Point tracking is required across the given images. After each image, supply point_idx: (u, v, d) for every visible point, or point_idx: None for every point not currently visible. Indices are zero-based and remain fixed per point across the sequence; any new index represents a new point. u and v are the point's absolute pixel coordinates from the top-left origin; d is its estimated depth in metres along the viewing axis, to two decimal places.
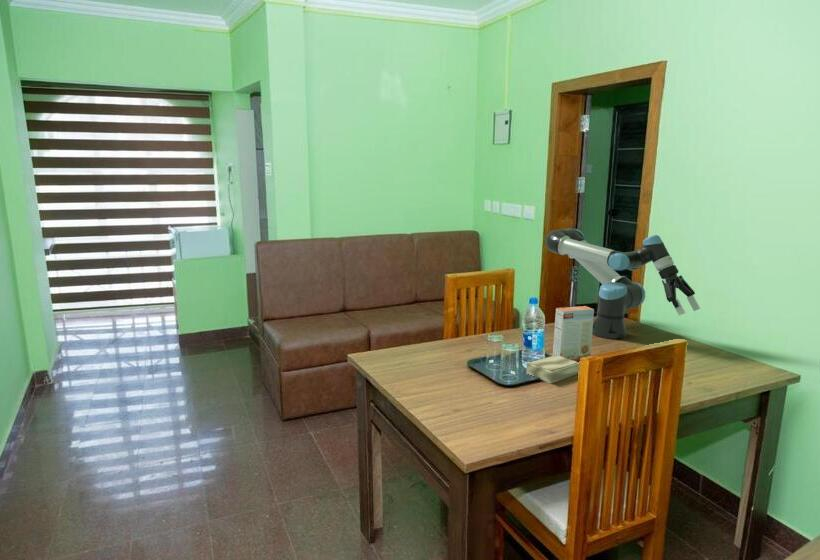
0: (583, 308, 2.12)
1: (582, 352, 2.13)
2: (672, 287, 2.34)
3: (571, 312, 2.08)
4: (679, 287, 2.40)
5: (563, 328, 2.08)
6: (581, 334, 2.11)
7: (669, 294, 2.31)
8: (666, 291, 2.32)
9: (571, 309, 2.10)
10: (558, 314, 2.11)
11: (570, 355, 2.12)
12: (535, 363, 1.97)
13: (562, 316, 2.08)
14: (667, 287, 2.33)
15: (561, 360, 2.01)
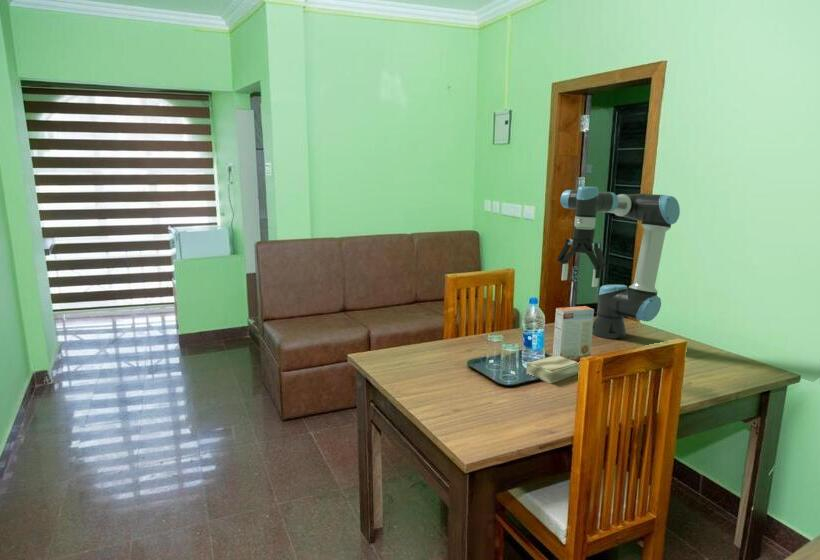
0: (583, 308, 2.12)
1: (582, 352, 2.13)
2: None
3: (571, 312, 2.08)
4: None
5: (563, 328, 2.08)
6: (581, 334, 2.11)
7: None
8: None
9: (571, 309, 2.10)
10: (558, 314, 2.11)
11: (570, 355, 2.12)
12: (535, 363, 1.97)
13: (562, 316, 2.08)
14: None
15: (561, 360, 2.01)
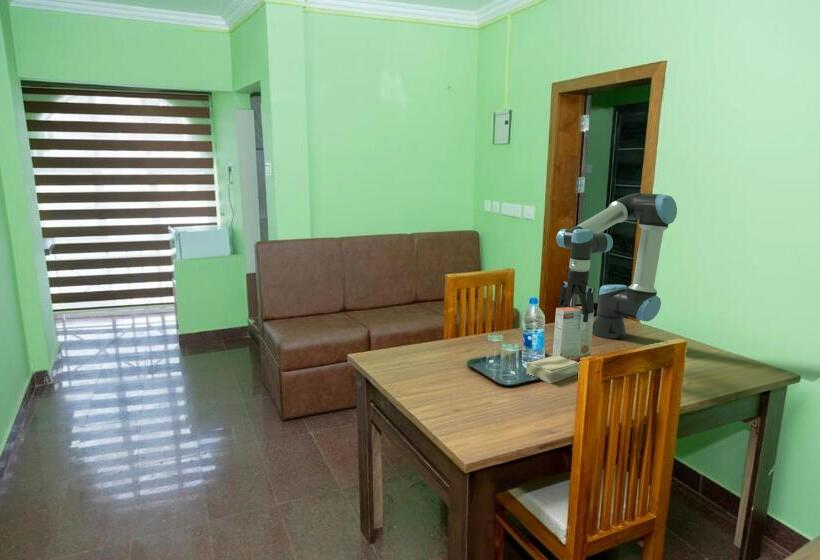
0: None
1: (582, 352, 2.13)
2: None
3: (571, 312, 2.08)
4: None
5: (563, 328, 2.08)
6: (581, 334, 2.11)
7: None
8: None
9: (571, 309, 2.10)
10: (558, 314, 2.11)
11: (570, 354, 2.12)
12: (535, 363, 1.97)
13: (562, 316, 2.08)
14: None
15: (561, 360, 2.01)
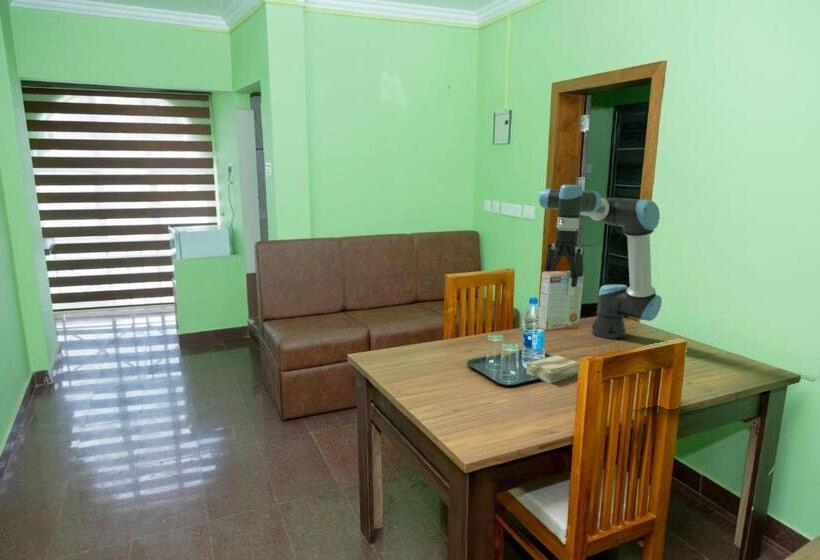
0: None
1: (571, 320, 1.95)
2: None
3: (558, 275, 1.90)
4: None
5: (549, 293, 1.90)
6: (570, 300, 1.93)
7: None
8: None
9: (559, 273, 1.92)
10: (544, 278, 1.92)
11: (558, 323, 1.94)
12: (535, 363, 1.97)
13: (548, 279, 1.90)
14: None
15: (561, 360, 2.01)
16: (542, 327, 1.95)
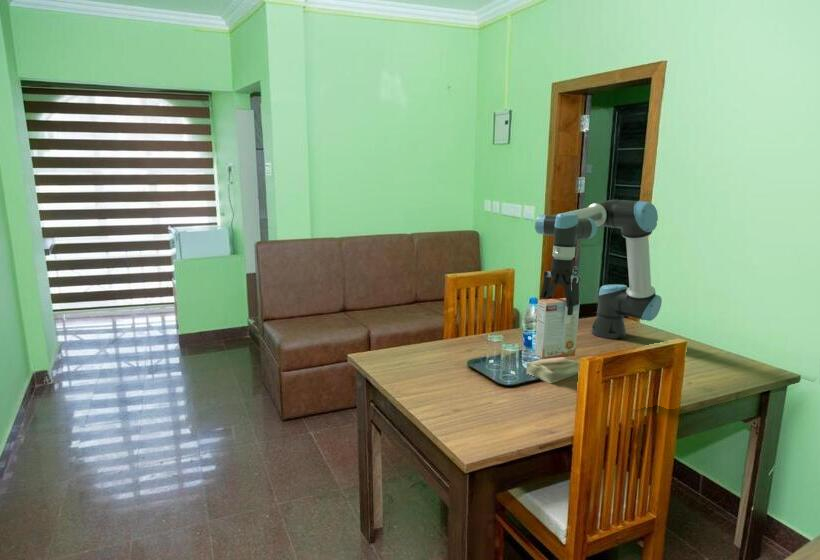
0: None
1: (567, 348, 1.96)
2: None
3: (554, 304, 1.90)
4: None
5: (545, 321, 1.91)
6: (566, 328, 1.94)
7: None
8: None
9: (555, 301, 1.92)
10: (540, 307, 1.93)
11: (554, 350, 1.94)
12: (535, 363, 1.97)
13: (545, 308, 1.90)
14: None
15: (561, 360, 2.01)
16: (538, 355, 1.95)
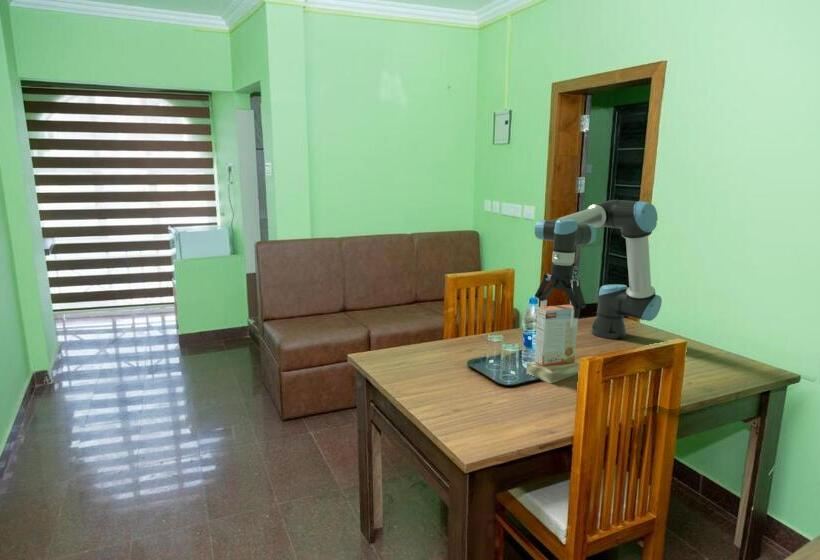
0: (567, 307, 1.95)
1: (567, 354, 1.97)
2: None
3: (554, 311, 1.91)
4: None
5: (545, 329, 1.91)
6: (565, 335, 1.95)
7: None
8: None
9: (554, 308, 1.93)
10: (540, 314, 1.94)
11: (554, 357, 1.95)
12: (535, 363, 1.97)
13: (544, 315, 1.91)
14: None
15: None
16: (538, 362, 1.96)
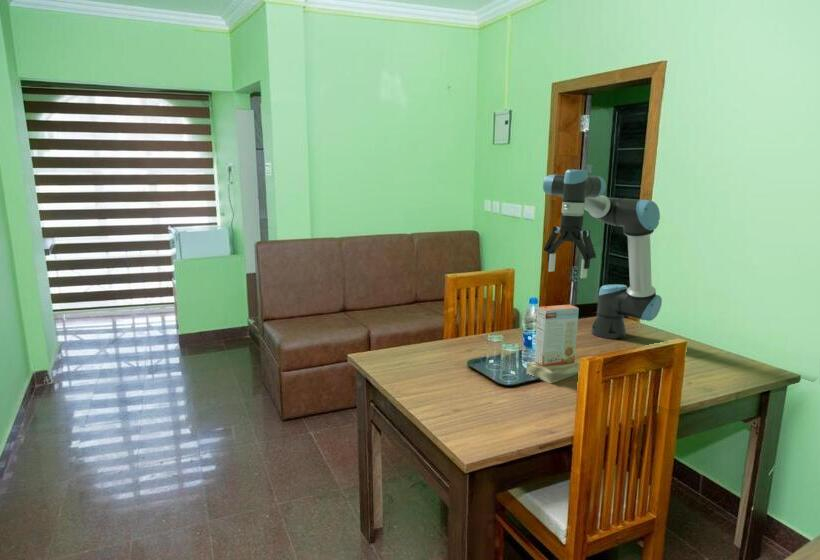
0: (567, 307, 1.95)
1: (567, 354, 1.97)
2: None
3: (554, 311, 1.91)
4: None
5: (545, 329, 1.91)
6: (565, 335, 1.95)
7: None
8: None
9: (554, 308, 1.93)
10: (540, 314, 1.94)
11: (554, 357, 1.95)
12: (535, 363, 1.97)
13: (544, 315, 1.91)
14: None
15: None
16: (538, 362, 1.96)
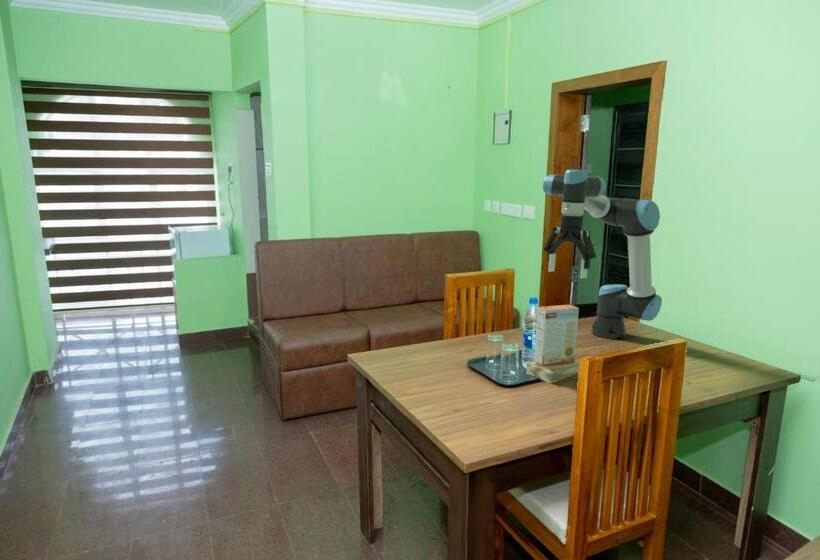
0: (567, 307, 1.95)
1: (567, 354, 1.97)
2: None
3: (554, 311, 1.91)
4: None
5: (545, 329, 1.91)
6: (565, 335, 1.95)
7: None
8: None
9: (554, 308, 1.93)
10: (540, 314, 1.94)
11: (554, 357, 1.95)
12: (535, 363, 1.97)
13: (544, 315, 1.91)
14: None
15: None
16: (538, 362, 1.96)
